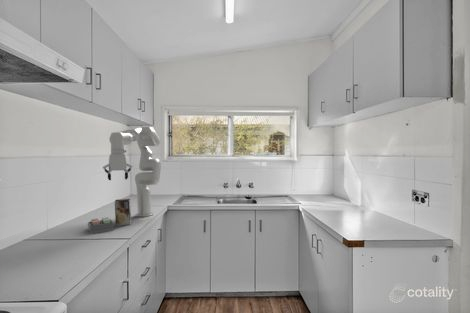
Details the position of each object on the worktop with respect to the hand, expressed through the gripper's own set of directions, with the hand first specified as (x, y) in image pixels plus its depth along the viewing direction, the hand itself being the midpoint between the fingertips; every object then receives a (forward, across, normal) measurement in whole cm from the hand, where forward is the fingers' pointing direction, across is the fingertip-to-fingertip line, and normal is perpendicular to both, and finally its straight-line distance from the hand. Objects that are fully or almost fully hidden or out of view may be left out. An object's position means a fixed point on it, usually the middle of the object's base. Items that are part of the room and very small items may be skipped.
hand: (118, 179), depth 194 cm
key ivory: (+27, +7, -6) cm, 28 cm away
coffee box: (+30, -5, -8) cm, 31 cm away
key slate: (+27, +13, -6) cm, 31 cm away
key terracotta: (+27, +13, 0) cm, 30 cm away
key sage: (+27, +7, 0) cm, 28 cm away
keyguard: (+30, +10, -3) cm, 32 cm away
